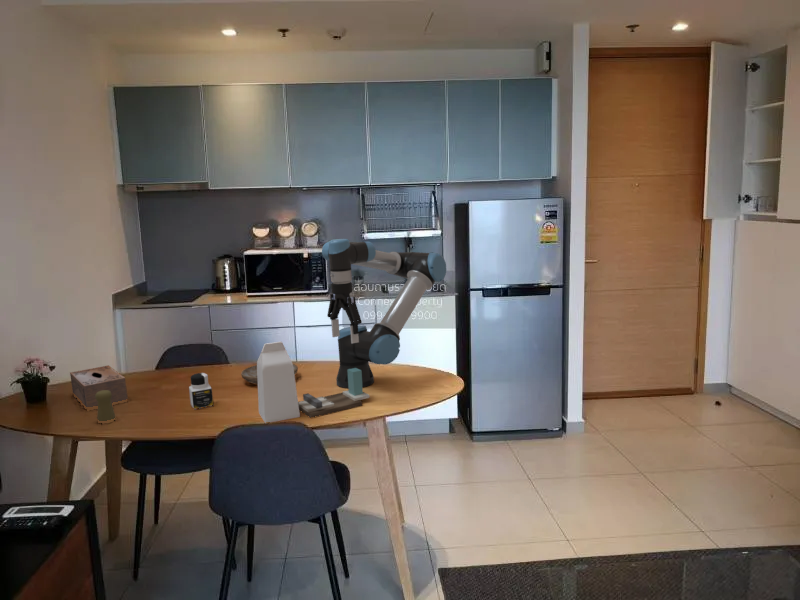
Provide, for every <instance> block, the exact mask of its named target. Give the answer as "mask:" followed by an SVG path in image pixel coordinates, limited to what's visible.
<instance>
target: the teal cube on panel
mask: <svg viewBox="0 0 800 600" xmlns="http://www.w3.org/2000/svg"><path fill="white" fill-rule="evenodd" d="M347 372H348V388H347V389H348V390H343V391H342V393H343V395H345V396H347V397H349V398H350V399H352V400H354V401H357V400H360V401H361V400H365V399H370V394H369V393H366V392H365V391H363V388H364V387H362V371H361V370H359V369H357V368H352V369H348V370H347Z"/></svg>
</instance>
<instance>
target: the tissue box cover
mask: <svg viewBox="0 0 800 600" xmlns="http://www.w3.org/2000/svg"><path fill="white" fill-rule="evenodd" d="M69 375H70V381H71V389H72V390H71V391H72V394H73V393H74V394H75V395H76V396H77V397H78V398H79V399H80V400H81V401H82V403H83V404H84V405H85V406H86V407H93V406H98V401H97V400H96V398H95V395H96V393H97V392H99V391H102V390H109V391H110V392H111V394H112V397H111V403H113V402H118V401H122V400H126V399H128V400H129V397H128V390H127V381H126V377H125V376H124V375H122V374H121V373H119V372H118V371H117V370H115V369H114V368H112V367H111V366H110V365H103V366H99V367H92V368H86V369H82V370H78V371H72V372H69Z"/></svg>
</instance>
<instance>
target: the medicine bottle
mask: <svg viewBox="0 0 800 600" xmlns="http://www.w3.org/2000/svg"><path fill="white" fill-rule="evenodd" d="M188 390H189V391H188V392H189V401H190V406H191V407H192V409H193V408H194V409H193V410H197V409H196V408H199V409H202V408H201V407H205V408H207V407H206V406H210V407H213V406H214V397H213V388H212V387H211V385H210V384H209V377H208V374H207V373H205V372H198V373H194V374H192V375H191V376H190V386H188ZM212 405H213V406H212Z"/></svg>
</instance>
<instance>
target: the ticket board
mask: <svg viewBox="0 0 800 600" xmlns="http://www.w3.org/2000/svg"><path fill="white" fill-rule="evenodd" d="M302 397H303V398H302V399H303V400H300V401H298V406H299V412H301V411H302V412H301V413H302V414H304V413H305V414H304V415H306V416H307V417H308V416H309V417H308V418H310V419H312V418H311V417H314V418H316V417H315V416H318V417H320V416H319V415H322V416H325V415H324V414H326V415H328V413H330V414H333V413H332V412H334V413H337V411H338V412H342V411H345V410H349V409H353V408H357V407H362V406H363V402H362V401H361V400H357V401H354V400H352V399H350V398H349V397H347V396H345V395H343V392H339V393H333V394H330V395H326V396H318V397H315V396H314V395H312V394H310V393H303V394H302Z"/></svg>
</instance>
